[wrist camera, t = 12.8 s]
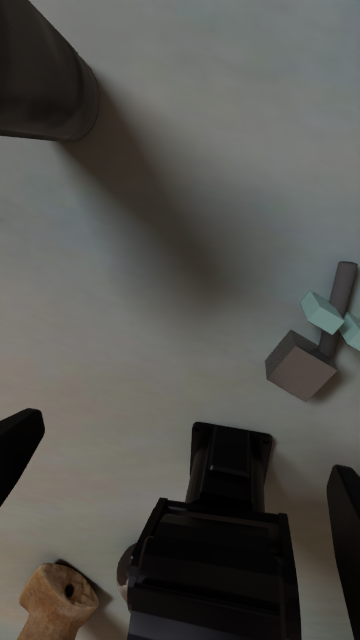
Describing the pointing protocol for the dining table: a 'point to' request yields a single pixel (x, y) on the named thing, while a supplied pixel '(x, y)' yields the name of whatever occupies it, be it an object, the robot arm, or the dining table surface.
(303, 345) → the brown grey short block
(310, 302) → the cable clips
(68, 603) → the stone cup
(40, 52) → the beverage cup
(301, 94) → the dining table surface
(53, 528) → the dining table surface
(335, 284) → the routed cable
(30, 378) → the dining table surface
